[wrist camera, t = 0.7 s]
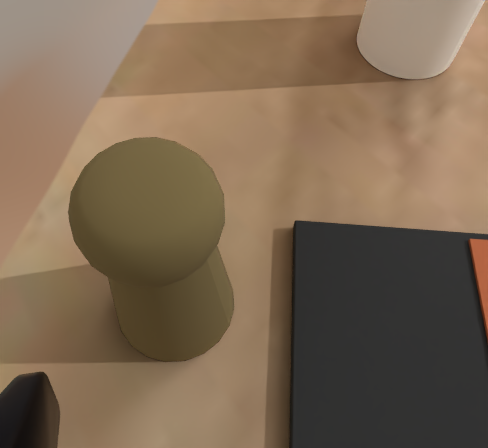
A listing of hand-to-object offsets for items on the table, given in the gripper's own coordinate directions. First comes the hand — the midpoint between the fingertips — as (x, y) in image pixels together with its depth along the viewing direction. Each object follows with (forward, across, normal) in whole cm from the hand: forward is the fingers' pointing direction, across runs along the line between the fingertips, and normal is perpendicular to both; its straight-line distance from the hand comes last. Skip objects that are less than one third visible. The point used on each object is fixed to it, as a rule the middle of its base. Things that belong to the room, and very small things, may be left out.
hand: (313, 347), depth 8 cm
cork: (+13, +3, +10) cm, 17 cm away
